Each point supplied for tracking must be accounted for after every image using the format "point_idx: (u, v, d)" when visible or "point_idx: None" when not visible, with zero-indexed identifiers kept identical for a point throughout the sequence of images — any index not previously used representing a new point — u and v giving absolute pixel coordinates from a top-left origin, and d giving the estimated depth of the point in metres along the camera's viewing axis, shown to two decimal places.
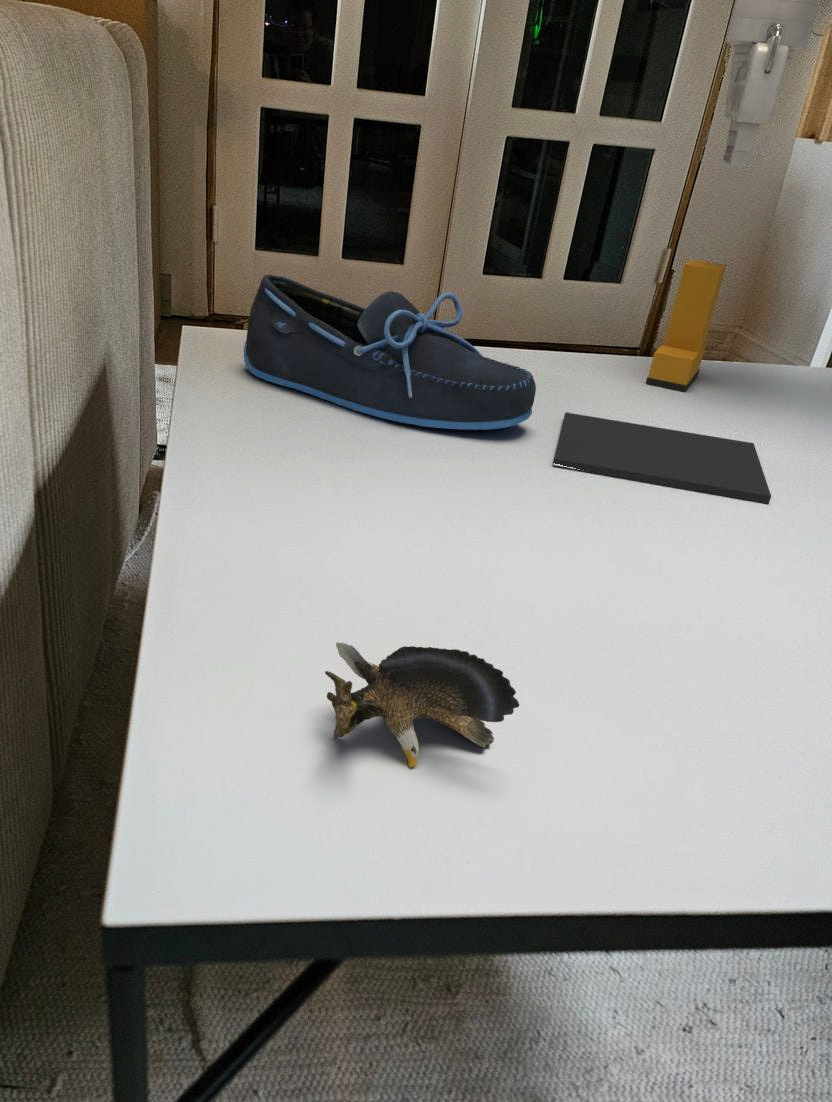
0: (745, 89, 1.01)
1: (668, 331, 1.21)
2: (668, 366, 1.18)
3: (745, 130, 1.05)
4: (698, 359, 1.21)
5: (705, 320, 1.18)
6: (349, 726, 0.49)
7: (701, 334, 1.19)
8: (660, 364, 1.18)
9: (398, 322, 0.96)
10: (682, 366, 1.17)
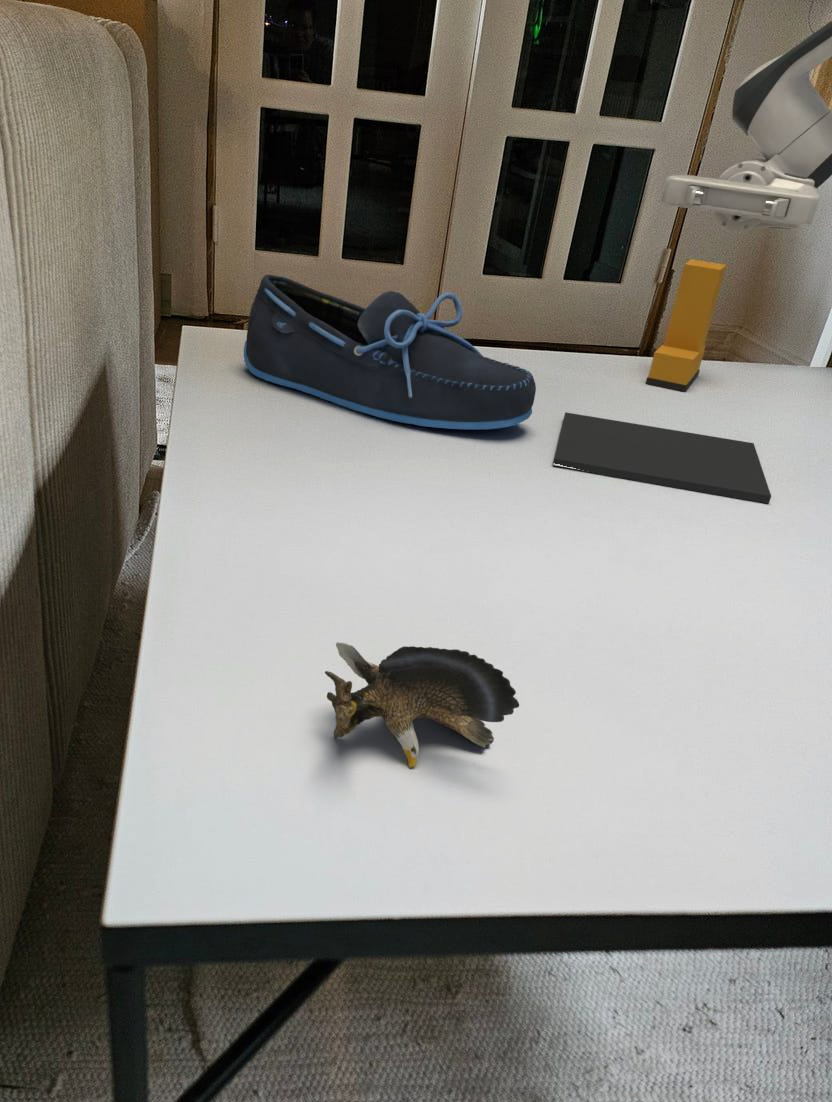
0: None
1: (668, 331, 1.21)
2: (668, 366, 1.18)
3: (686, 196, 1.29)
4: (698, 359, 1.21)
5: (705, 320, 1.18)
6: (349, 726, 0.49)
7: (701, 334, 1.19)
8: (660, 364, 1.18)
9: (398, 322, 0.96)
10: (682, 366, 1.17)
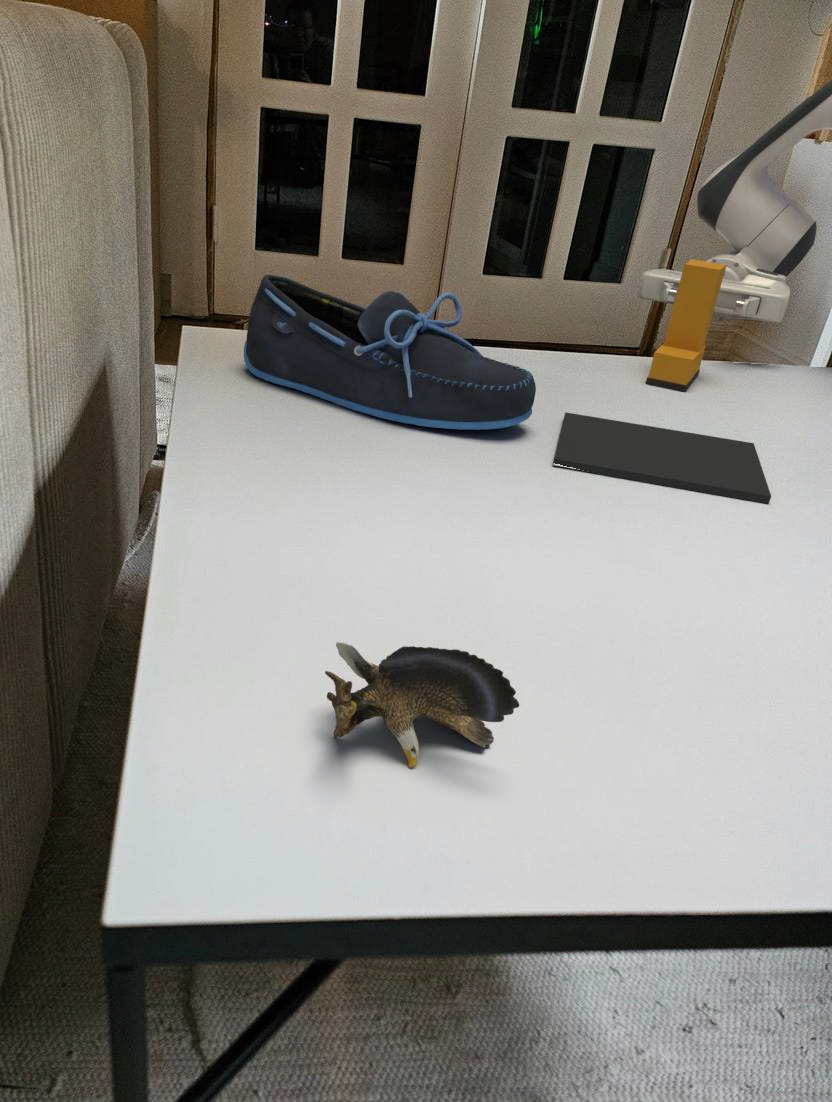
0: None
1: (668, 331, 1.21)
2: (668, 366, 1.18)
3: (661, 292, 1.33)
4: (698, 359, 1.21)
5: (705, 320, 1.18)
6: (349, 726, 0.49)
7: (701, 334, 1.19)
8: (660, 364, 1.18)
9: (398, 322, 0.96)
10: (682, 366, 1.17)
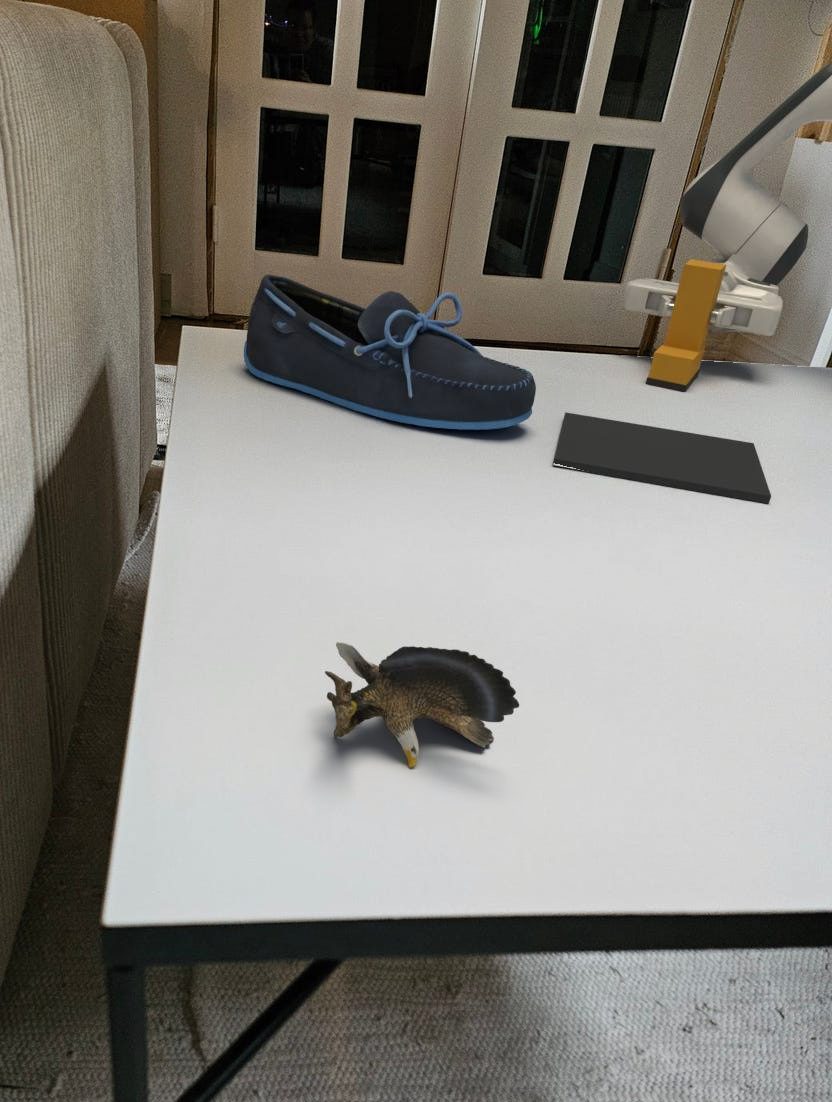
0: None
1: (668, 331, 1.21)
2: (668, 366, 1.18)
3: (659, 306, 1.25)
4: (698, 359, 1.21)
5: (705, 320, 1.18)
6: (349, 726, 0.49)
7: (701, 334, 1.19)
8: (660, 364, 1.18)
9: (398, 322, 0.96)
10: (682, 366, 1.17)
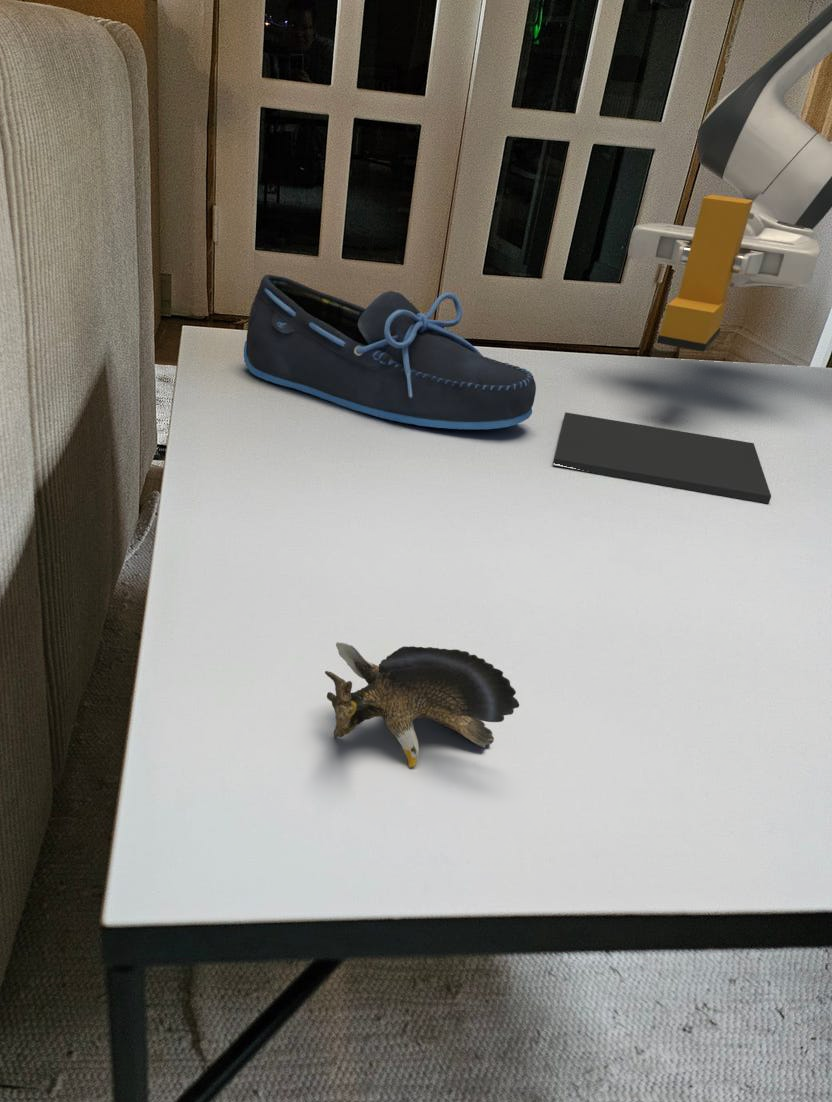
0: None
1: (683, 280, 1.01)
2: (683, 321, 0.99)
3: (673, 252, 1.06)
4: (719, 314, 1.02)
5: (728, 266, 0.99)
6: (349, 726, 0.49)
7: (723, 283, 1.00)
8: (674, 319, 0.99)
9: (398, 322, 0.96)
10: (700, 320, 0.98)
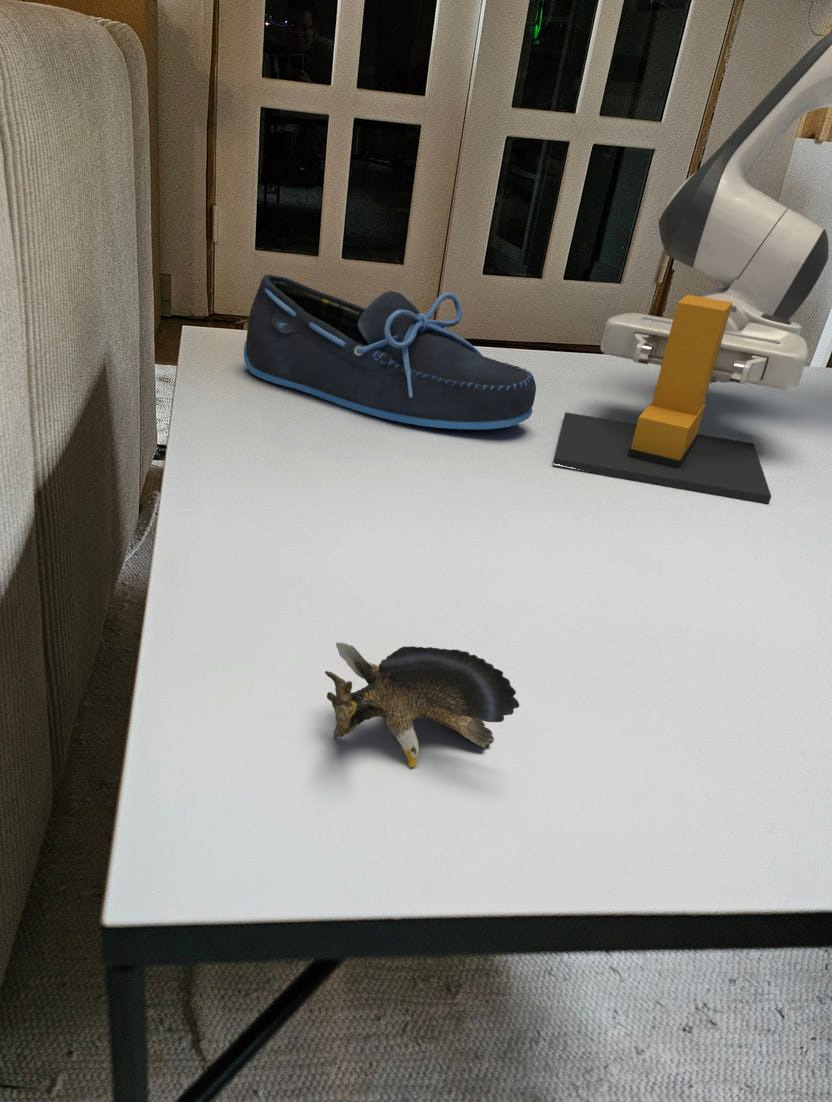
0: None
1: (657, 388, 0.93)
2: (656, 435, 0.90)
3: None
4: (696, 424, 0.94)
5: (705, 375, 0.91)
6: (349, 726, 0.49)
7: (700, 393, 0.91)
8: (646, 433, 0.91)
9: (398, 322, 0.96)
10: (674, 435, 0.90)
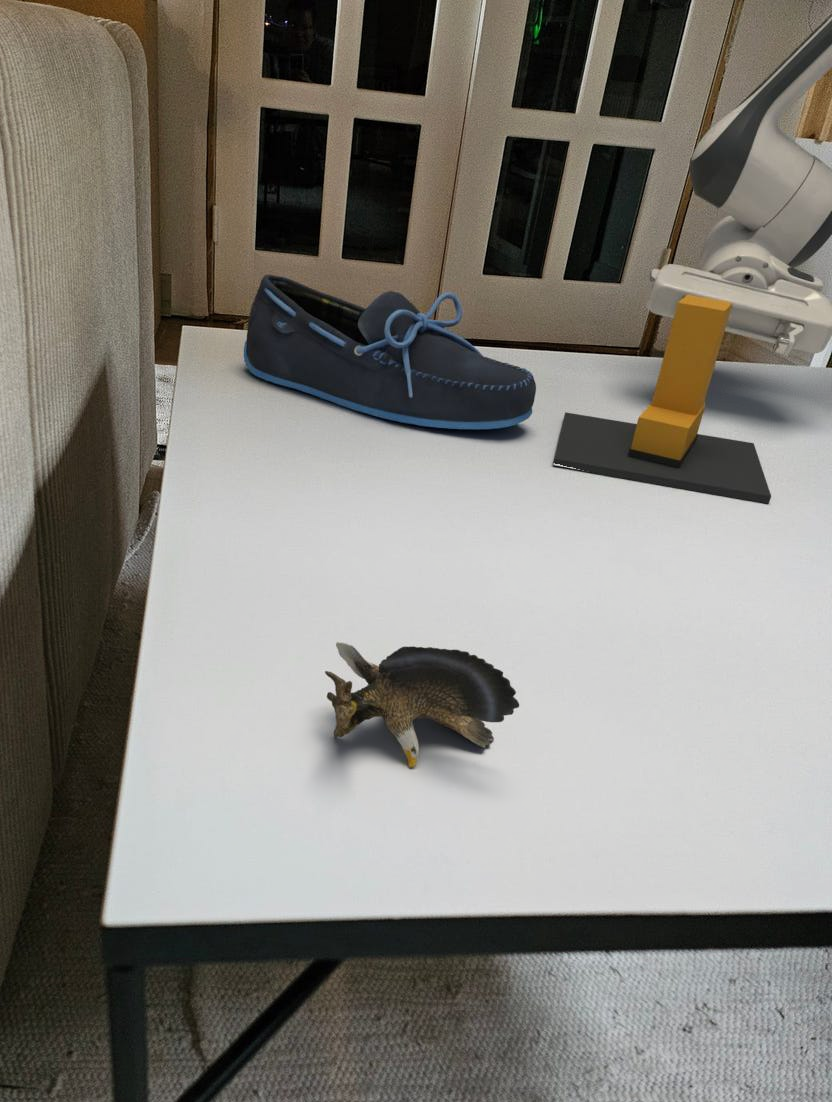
0: None
1: (657, 388, 0.93)
2: (656, 435, 0.90)
3: None
4: (696, 424, 0.94)
5: (705, 375, 0.91)
6: (349, 726, 0.49)
7: (700, 393, 0.91)
8: (646, 433, 0.91)
9: (398, 322, 0.96)
10: (674, 435, 0.90)
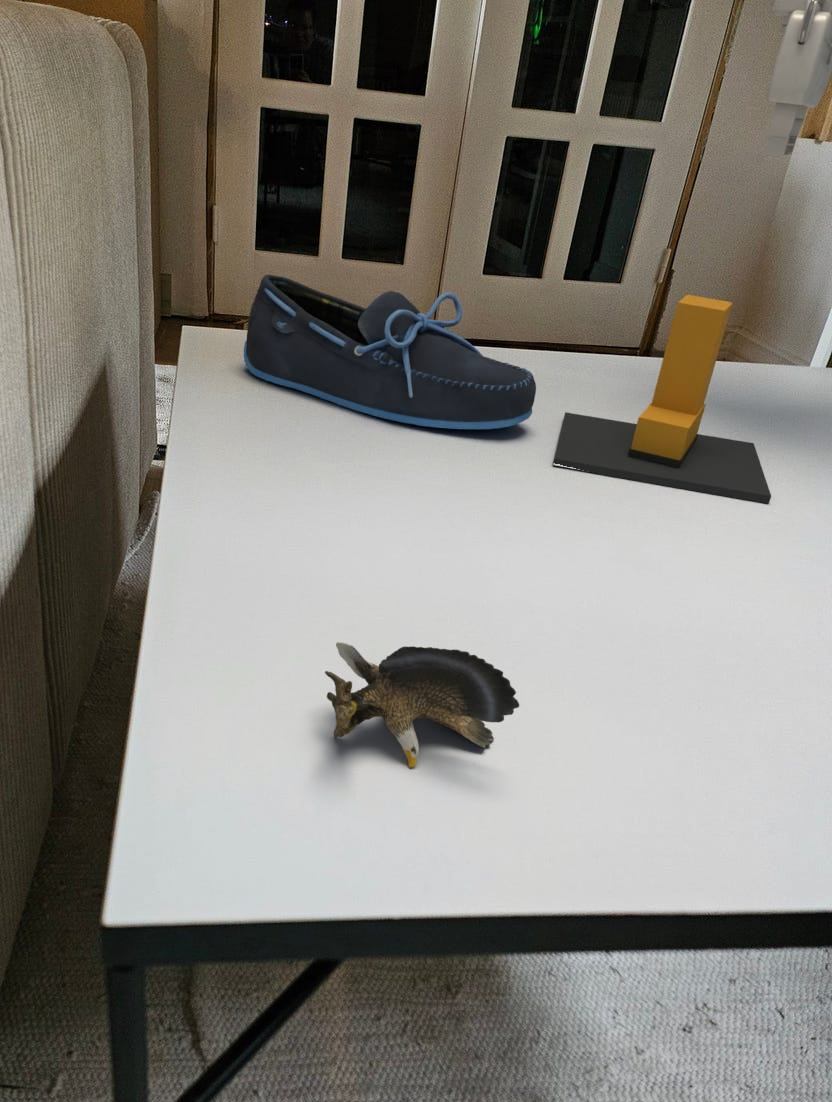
0: (775, 63, 0.88)
1: (657, 388, 0.93)
2: (656, 435, 0.90)
3: (781, 112, 0.92)
4: (696, 424, 0.94)
5: (705, 375, 0.91)
6: (349, 726, 0.49)
7: (700, 393, 0.91)
8: (646, 433, 0.91)
9: (398, 322, 0.96)
10: (674, 435, 0.90)
